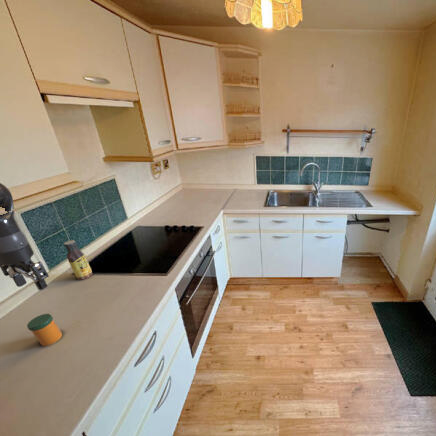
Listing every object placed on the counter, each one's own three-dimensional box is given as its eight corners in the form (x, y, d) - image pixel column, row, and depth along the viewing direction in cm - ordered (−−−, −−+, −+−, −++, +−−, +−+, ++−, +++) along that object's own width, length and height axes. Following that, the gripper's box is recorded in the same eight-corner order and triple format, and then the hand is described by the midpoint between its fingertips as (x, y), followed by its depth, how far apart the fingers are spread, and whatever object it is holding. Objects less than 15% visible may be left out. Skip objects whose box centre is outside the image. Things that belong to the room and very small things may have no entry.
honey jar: (43, 349, 80) (30, 331, 76) (39, 341, 83) (26, 323, 79) (64, 337, 84) (52, 319, 80) (59, 329, 87) (48, 312, 83)
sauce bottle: (87, 280, 112) (70, 246, 104) (74, 280, 112) (55, 246, 103) (96, 271, 118) (81, 238, 110) (84, 272, 118) (67, 239, 109)
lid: (31, 334, 76) (29, 330, 76) (27, 325, 79) (24, 322, 79) (55, 321, 81) (53, 318, 80) (50, 314, 84) (48, 311, 83)
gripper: (-25, 249, 68) (1, 291, 75) (14, 255, 66) (37, 297, 73) (7, 237, 75) (28, 277, 82) (43, 242, 73) (62, 282, 80)
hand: (32, 286), depth 77 cm, fingers open, 8 cm apart
